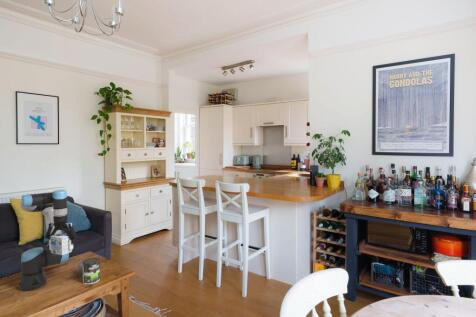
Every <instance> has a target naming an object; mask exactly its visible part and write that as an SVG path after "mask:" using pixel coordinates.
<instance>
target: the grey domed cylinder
mask: <svg viewBox="0 0 476 317" xmlns="http://www.w3.org/2000/svg"><path fill="white" fill-rule="evenodd" d="M77 268H78V270H77V271H78V277H83V263H82V262H80V263H78V267H77Z"/></svg>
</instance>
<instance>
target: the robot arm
mask: <svg viewBox="0 0 476 317" xmlns="http://www.w3.org/2000/svg"><path fill="white" fill-rule="evenodd" d="M20 209H22V211H24V212H27V213H39V212H41V214H42V215H43V216H44V220H45V222H44V223H45V228H46V233H45V236H44V239H47V244H46V246H45V248H44V247H42V246H41V247H40V246H38V247H32V248H30V249H28V250H26V251H24V252H22V254H21V255H20V256H21V257H20V262H21V276H20V277H21V278H20V281H19V284H18V290H19V291H24V292H27V291H28V292H29V291H33V290H36V289H37V290H38V289H41V288H42V287H43V286H45V285H47V283H48V277H47V276H46V273H45V268H46V267H51V266H52V267H53V266H54V265H55V266H57V265H60V264H63V263H67V262H68V261H69V257H70V252H69V253H67V254H64V255H59V254H55V253H51V236H53V235H56V234H59V233H62V231H63V232H64V234H67V235H68V237H69V238H70V240H69V250H72V251H73V249H74V244H75V239H76V238H78V234H77V233H76V230H75V228H74V226H73V222H68V218H69V217H68V193H67V190H66V189H56V190H54V191H51V192H42V193H41V192H40V193H27V194H23V195H21V202H20Z"/></svg>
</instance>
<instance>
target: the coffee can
mask: <svg viewBox="0 0 476 317" xmlns="http://www.w3.org/2000/svg"><path fill="white" fill-rule="evenodd" d="M81 263H83V276H82V283H83V284H84V285H93V284H97V283H98V282H99V281H100V280H101V275H100V258H99V257H89V258H86V259H83V260H82V261H81Z"/></svg>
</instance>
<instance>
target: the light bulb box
mask: <svg viewBox="0 0 476 317" xmlns="http://www.w3.org/2000/svg"><path fill="white" fill-rule="evenodd" d="M69 240H70V238H69V237H68V235H67V234H66V233H62V232H61V233H59V234H56V235H53V236H51V253H55V254H59V255H64V254H67V253H69V254H70V253H72V252H73V249H72V250H69Z"/></svg>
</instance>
